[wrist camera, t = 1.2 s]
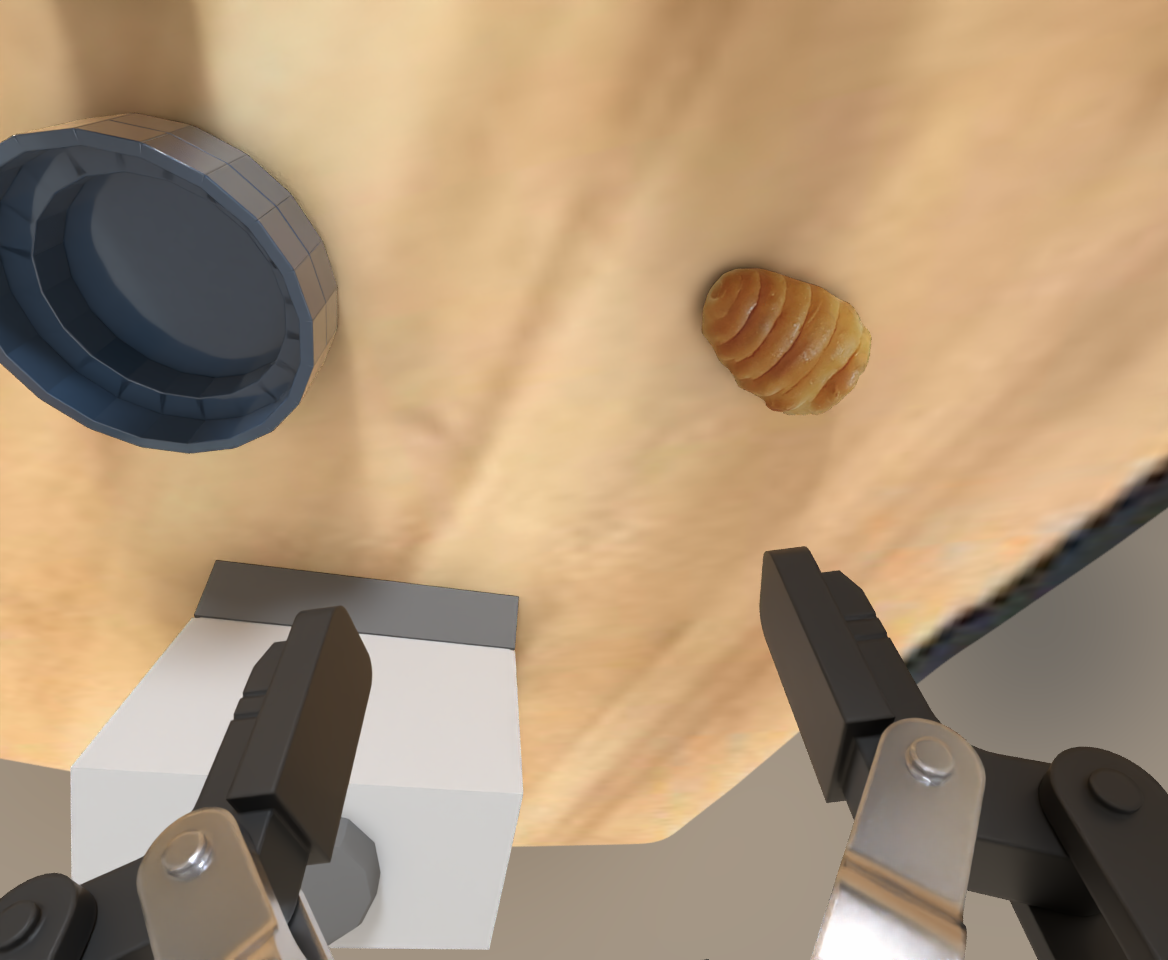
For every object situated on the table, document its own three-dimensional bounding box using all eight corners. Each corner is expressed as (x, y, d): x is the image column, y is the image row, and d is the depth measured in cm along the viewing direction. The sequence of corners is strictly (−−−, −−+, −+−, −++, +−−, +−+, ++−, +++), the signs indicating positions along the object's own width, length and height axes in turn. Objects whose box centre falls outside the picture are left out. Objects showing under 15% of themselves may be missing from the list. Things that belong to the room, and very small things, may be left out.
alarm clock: (229, 684, 50) (84, 1008, 34) (213, 534, 41) (5, 873, 25) (489, 706, 54) (473, 1005, 38) (524, 573, 45) (522, 888, 29)
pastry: (668, 334, 35) (681, 364, 32) (748, 227, 32) (772, 248, 29) (789, 410, 39) (812, 444, 36) (872, 320, 36) (905, 348, 33)
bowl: (-46, 132, 28) (-150, 153, 23) (280, 94, 28) (235, 108, 23) (124, 415, 36) (71, 468, 32) (374, 386, 36) (354, 434, 32)
